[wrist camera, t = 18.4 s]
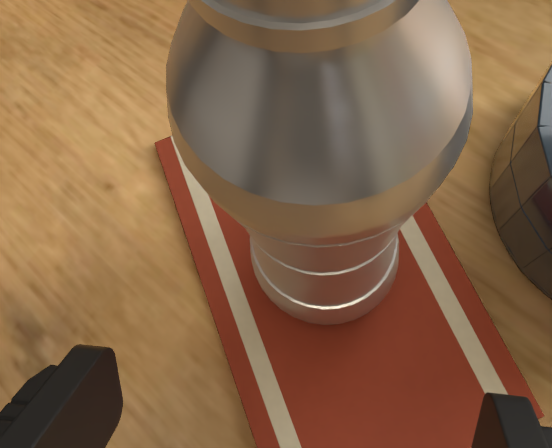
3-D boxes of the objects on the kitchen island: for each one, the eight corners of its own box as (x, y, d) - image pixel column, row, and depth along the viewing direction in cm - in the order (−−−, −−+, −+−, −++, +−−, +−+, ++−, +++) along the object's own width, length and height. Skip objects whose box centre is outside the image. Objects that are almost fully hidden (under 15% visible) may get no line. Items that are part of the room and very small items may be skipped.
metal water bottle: (340, 179, 26) (358, -421, 7) (421, 286, 23) (778, -179, 5) (235, 244, 25) (-61, -217, 6) (306, 361, 23) (177, 178, 4)
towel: (156, 145, 28) (154, 142, 28) (350, 67, 28) (350, 64, 28) (284, 524, 21) (283, 526, 21) (541, 416, 21) (544, 416, 21)
